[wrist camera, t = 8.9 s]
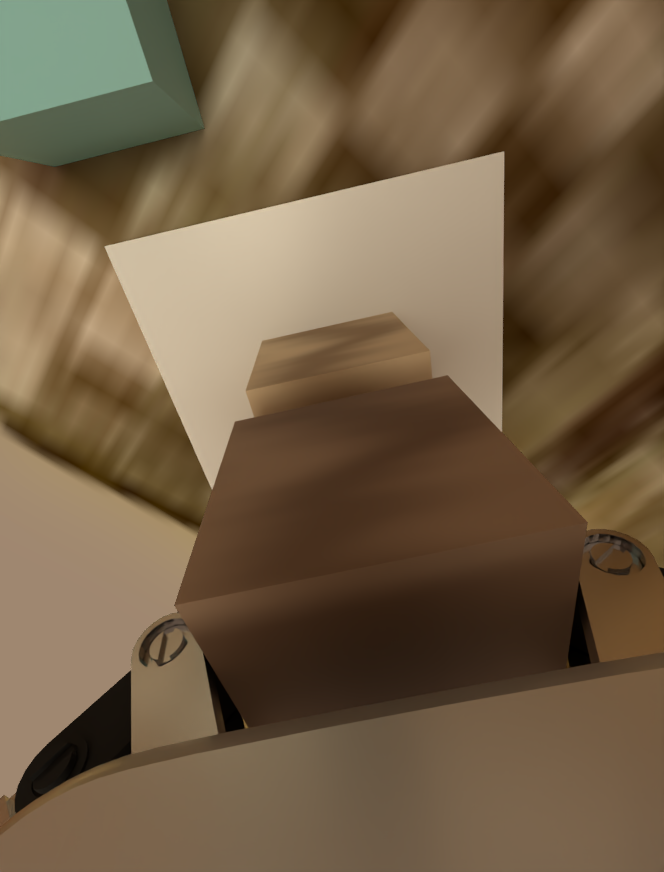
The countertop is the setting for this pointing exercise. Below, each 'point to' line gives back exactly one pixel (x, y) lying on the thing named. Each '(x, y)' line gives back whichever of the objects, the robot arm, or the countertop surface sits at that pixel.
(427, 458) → the walnut cube
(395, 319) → the oak cube
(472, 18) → the countertop surface
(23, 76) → the teal cube
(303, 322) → the plate
